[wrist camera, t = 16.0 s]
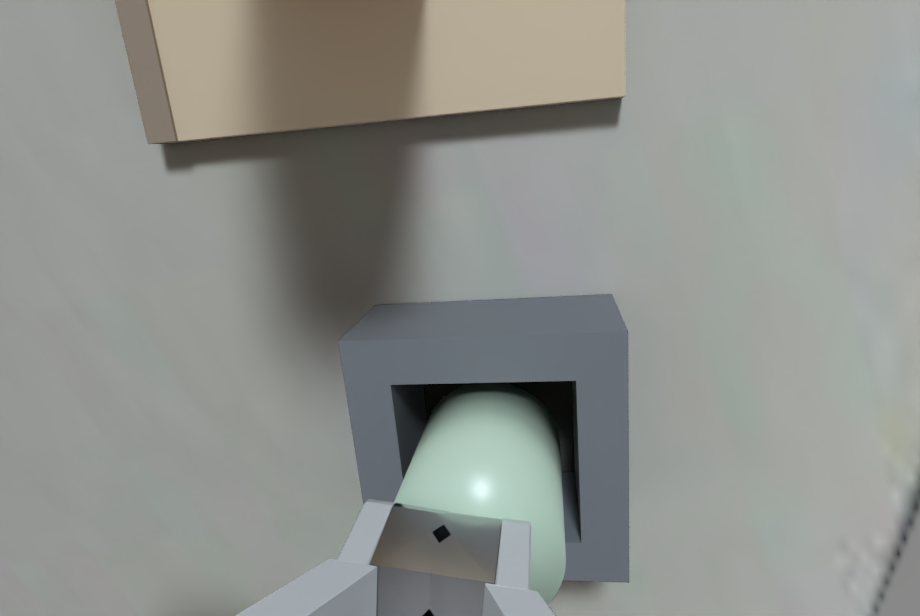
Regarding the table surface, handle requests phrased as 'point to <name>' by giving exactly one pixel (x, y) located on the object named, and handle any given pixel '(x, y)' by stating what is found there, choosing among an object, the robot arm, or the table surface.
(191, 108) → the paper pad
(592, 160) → the table surface
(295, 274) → the table surface
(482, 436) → the button plunger
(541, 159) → the table surface
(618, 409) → the button housing
